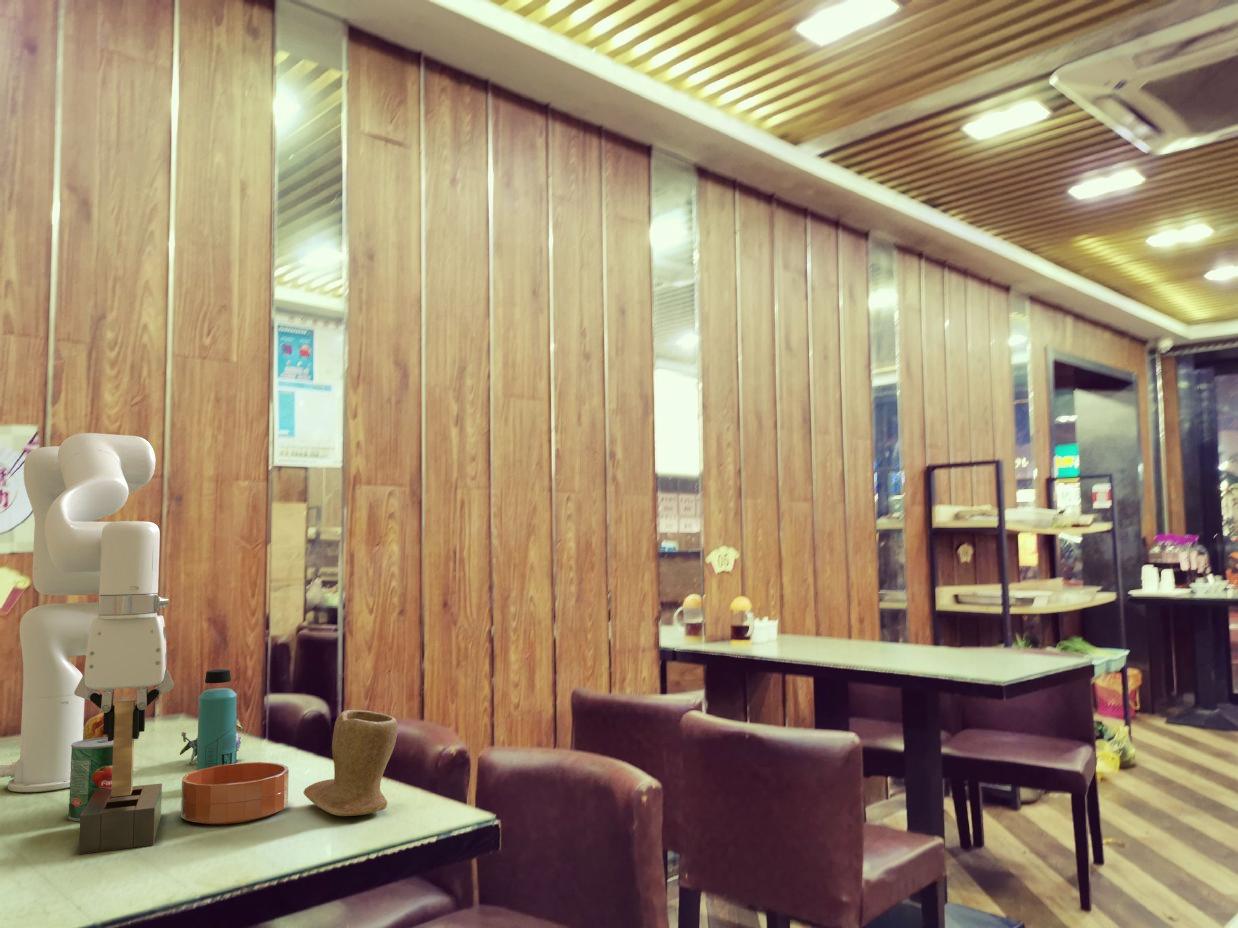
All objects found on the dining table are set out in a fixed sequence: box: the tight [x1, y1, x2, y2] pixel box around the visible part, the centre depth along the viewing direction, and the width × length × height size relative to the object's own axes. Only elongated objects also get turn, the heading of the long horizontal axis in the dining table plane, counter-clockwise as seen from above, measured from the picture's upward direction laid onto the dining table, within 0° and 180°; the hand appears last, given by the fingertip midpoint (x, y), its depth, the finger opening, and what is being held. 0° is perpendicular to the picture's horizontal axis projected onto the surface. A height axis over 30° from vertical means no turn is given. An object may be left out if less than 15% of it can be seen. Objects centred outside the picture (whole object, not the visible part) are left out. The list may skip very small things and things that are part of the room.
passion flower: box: [179, 718, 245, 765], centre depth 179 cm, size 11×11×12 cm
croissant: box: [83, 712, 108, 740], centre depth 202 cm, size 21×10×8 cm, turn 41°
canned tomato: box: [67, 737, 113, 822], centre depth 144 cm, size 8×8×11 cm
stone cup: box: [303, 709, 399, 817], centre depth 145 cm, size 15×12×15 cm
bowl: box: [180, 761, 289, 825], centre depth 143 cm, size 15×15×6 cm
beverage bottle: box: [195, 668, 238, 770], centre depth 160 cm, size 6×7×20 cm
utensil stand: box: [78, 783, 163, 855], centre depth 133 cm, size 9×16×5 cm, turn 23°
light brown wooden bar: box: [111, 697, 136, 797], centre depth 131 cm, size 2×2×13 cm
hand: (123, 737), depth 131 cm, fingers closed on light brown wooden bar, 2 cm apart
